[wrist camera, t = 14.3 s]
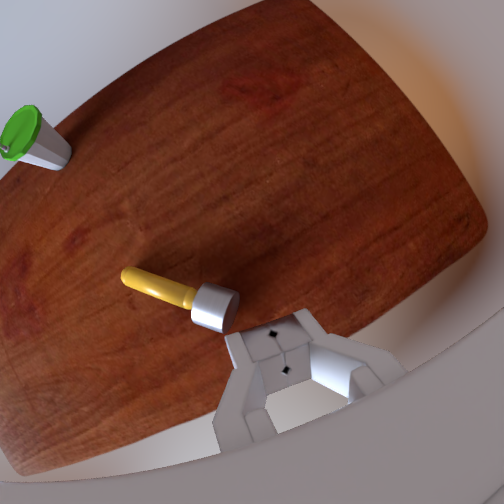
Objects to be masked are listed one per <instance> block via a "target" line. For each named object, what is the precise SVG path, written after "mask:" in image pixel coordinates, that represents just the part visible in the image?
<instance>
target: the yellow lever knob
mask: <svg viewBox="0 0 504 504" xmlns="http://www.w3.org/2000/svg"><path fill="white" fill-rule="evenodd" d="M121 280H122V282H123V283H124V284H125V285H126V286H129V287H131V288H134V289H136V290H139V291H141V292H144V293H146V294H149V295H151V296H154V297H156V298H159V299H161V300H164V301H166V302H169V303H172V304H174V305H177V306H180V307H182V308H185V309H192V311H191V318H192V321H193V322H194V323H196V324H198V325H201V326H204V327H207V328H209V329H212V330H215V331H218V332H220V333H223V334H225V333H227V332H228V331H229V329H230V328H231V326H232V324H233V322H234V320H235V317H236V314H237V311H238V307H239V301H240V295H239V292H237V291H234V290H231V289H228V288H225V287H222V286H218V285H215V284H212V283H209V282H206V283H204V284H203V285H202V286H201V287H200V289H199V290H198V291H197V290H196V289H194V288H192V287H189V286H186V285H183V284H180V283H177V282H175V281H172V280H169V279H166V278H163V277H161V276H158V275H155V274H152V273H149V272H147V271H144V270H141V269H138V268H136V267H133V266H129V267H126V268H125V269H124V270H123V271H122V273H121Z"/></svg>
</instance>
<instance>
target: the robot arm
mask: <svg viewBox="0 0 504 504" xmlns="http://www.w3.org/2000/svg"><path fill="white" fill-rule="evenodd" d="M225 340H226V343H227V347H228V350H229V353H230V356H231V359H232V362H233V365H234V368H235V369H234V370H232V373H231V375H230V378H229V381H228V383H227V386H226V388H225V391H224V393H223V396H222V398H221V401H220V404H219V406H218V409H217V411H216V414H215V416H214V419H213V421H212V424H213V427H214V431H215V434H216V438H217V441H218V444H219V448H220V451H221V453H219V454H216V455H212V456H209V457H205V458H201V459H197V460H193V461H189V462H185V463H181V464H177V465H173V466H168V467H163V468H158V469H153V470H148V471H143V472H137V473H131V474H125V475H117V476H110V477H102V478H94V479H84V480H72V481H55V482H4V481H0V504H504V307H503V308H502V309H501V310H499V311H498V312H497V313H496V314H494V315H493V316H492V317H490V318H489V319H488V320H487V321H485V322H484V323H482V324H481V325H480V326H479V327H477V328H476V329H474V330H473V331H472V332H470V333H469V334H467V335H466V336H464V337H463V338H462V339H460V340H459V341H457V342H456V343H454V344H453V345H452V346H450V347H449V348H447V349H445V350H444V351H442V352H441V353H439V354H438V355H436V356H435V357H433V358H431V359H430V360H428V361H427V362H425V363H423V364H422V365H420V366H418V367H417V368H415V369H413V370H412V371H410V372H408V371H407V370H406V369H405V368H404V367H403V366H402V365H401V363H400V362H399V361H398V360H397V359H396V358H395V357H394V356H393V355H392V354H391V353H390V351H387V350H384V349H380V348H377V347H374V346H370V345H367V344H364V343H360V342H357V341H354V340H351V339H348V338H345V337H342V336H338V335H335V334H332V333H331V334H328V335H327V333H326V332H325V331H324V330H323V328H322V327H321V326H320V325H319V323H318V322H317V321H316V320H315V318H314V317H313V316H312V315H311V313H310V312H309V311H308V310H307V309H305V308H304V309H302V310H299V311H297V312H294V313H292V314H290V315H287V316H284V317H281V318H279V319H276V320H273V321H270V322H267V323H265V324H261V325H258V326H255V327H252V328H249V329H246V330H242V331H239V332H237V333H233V334H230V335H227V336H225ZM311 378H312V379H313V380H314V381H317V382H318V383H320V384H322V385H324V386H326V387H328V388H330V389H332V390H334V391H336V392H338V393H340V394H342V395H344V396H346V397H348V405H346V406H344V407H342V408H340V409H337V410H335V411H333V412H331V413H329V414H326V415H324V416H322V417H320V418H317V419H315V420H312V421H310V422H308V423H305V424H303V425H300V426H298V427H295V428H293V429H290V430H288V431H285V432H282V433H280V434H278V433H277V431H276V429H275V427H274V425H273V423H272V421H271V419H270V416H269V414H268V412H267V410H266V409H264V408H265V404H266V399H267V395H269V394H272V393H275V392H277V391H280V390H282V389H284V388H287V387H289V386H292V385H295V384H298V383H300V382H303V381H306V380H308V379H311Z"/></svg>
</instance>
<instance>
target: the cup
mask: <svg viewBox="0 0 504 504" xmlns="http://www.w3.org/2000/svg"><path fill="white" fill-rule="evenodd" d="M0 153H1V155H2V157H3V158H4V159H6V160H10V161H16V160H20V161H23V162H27V163H31V164H34V165H38V166H41V167H45V168H48V169H52V170H57V171H58V170H60V169H62V168H64V167H65V165H66V164H67V163H68V162H69V159H70V157H71V154H72V153H71V146H70V145H69V144H68V143H67V142H66V141H65V140H64V139H63V138H62V137H61V136H60V135H59V134H58V133H57V132H56V131H55V130H54V129H53V128H52V127H51V126H50V125H49V124H48V123H47V122H46V120H44V118H43V117H42V114H41V113H40V111H39V110H38V108H37V107H35V106H34V105H25V106H23V107H22V108H20V109H19V110H18V111H16V112H15V113H14V114H13V115H12V117H11V118H10V119H9V121H8V122H7V124H6V125H5V128H4V130H3V132H2V135H1V137H0Z"/></svg>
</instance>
